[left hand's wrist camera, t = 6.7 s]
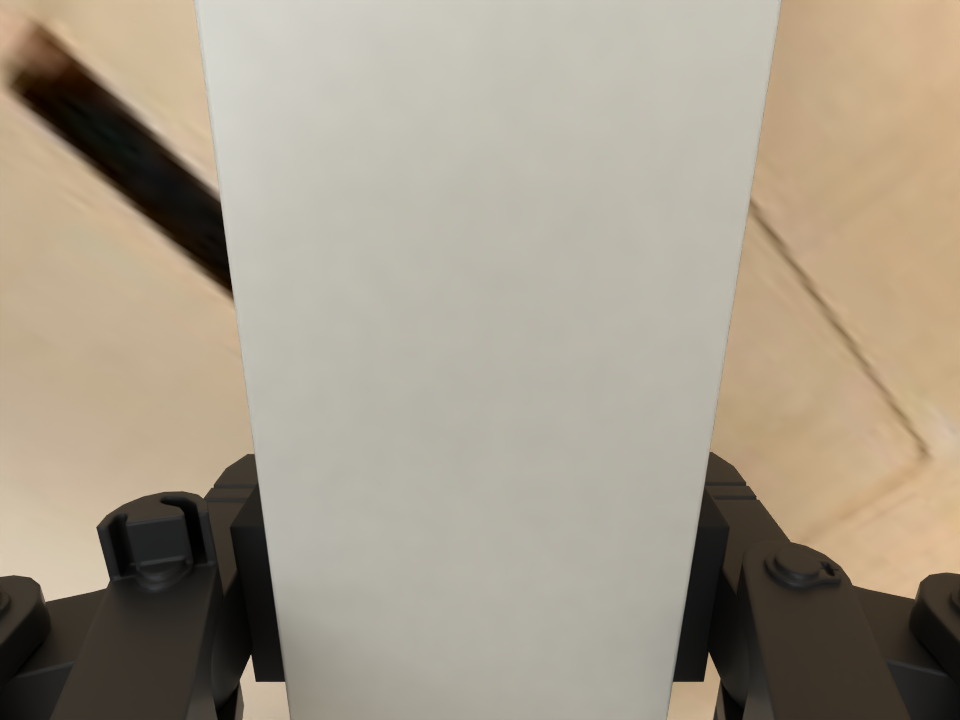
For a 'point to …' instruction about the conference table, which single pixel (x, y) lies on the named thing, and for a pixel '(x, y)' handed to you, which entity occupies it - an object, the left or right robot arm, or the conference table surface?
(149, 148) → the conference table surface
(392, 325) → the post
